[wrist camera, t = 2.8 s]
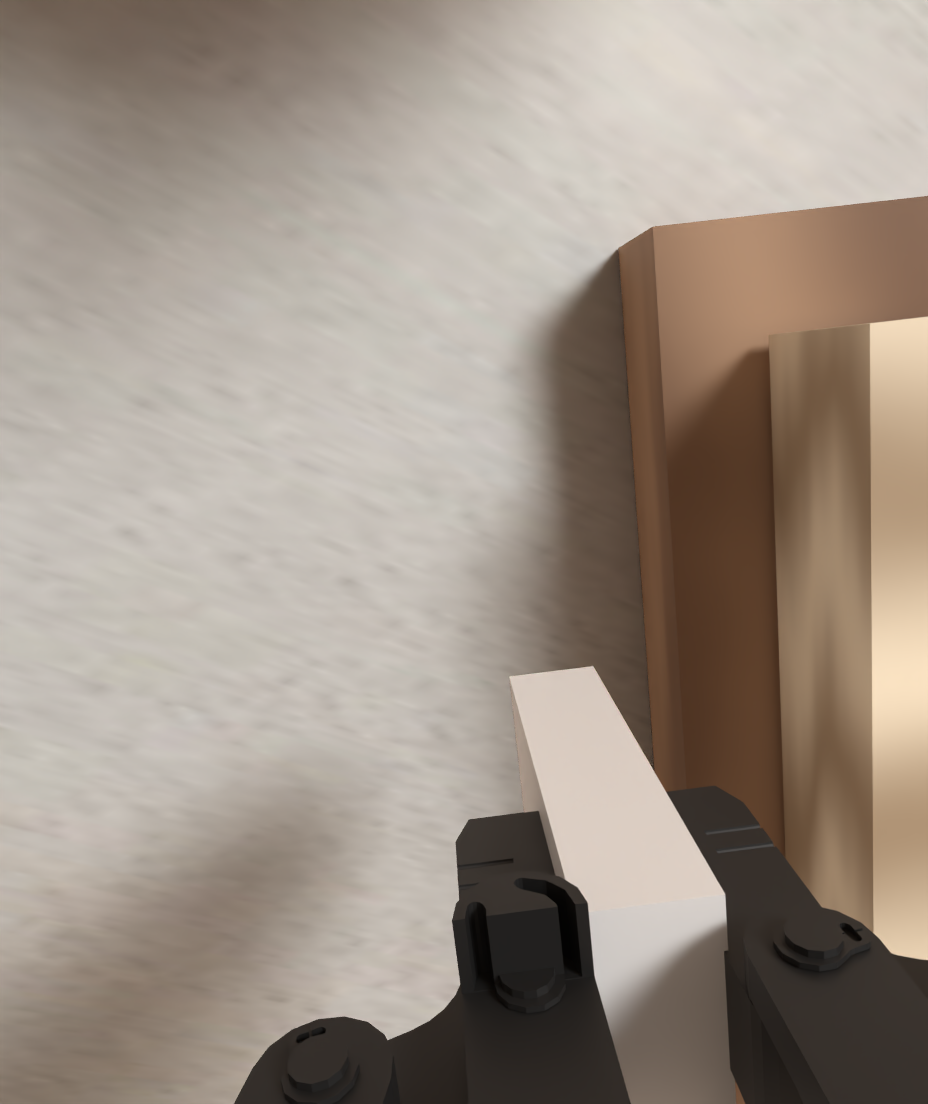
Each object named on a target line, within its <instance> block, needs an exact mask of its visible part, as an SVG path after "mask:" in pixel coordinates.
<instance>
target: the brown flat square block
mask: <svg viewBox="0 0 928 1104" xmlns="http://www.w3.org/2000/svg"><path fill="white" fill-rule="evenodd" d="M618 250H619V264H620V279H621V293H622V308H623V322H624V337H625V351H626V366H627V380H628V395H629V409H630V424H631V438H632V453H633V467H634V482H635V496H636V511H637V525H638V540H639V554H640V569H641V583H642V598H643V612H644V627H645V641H646V656H647V670H648V685H649V699H650V714H651V728H652V743H653V757H654V771H655V774H656V775H657V777H658V779H659V781H660V782H661V784H662V786H663V788H664V789H665V791H666V792H668V791H676V790H684V789H691V788H699V787H707V786H717V787H719V788H720V789H722V790H724V791H725V792H727V793H729V794H730V795H732V796H734V797H735V798H737V799H739V800H741V801H742V802H744V804H745V805H746V806H747V808H748V809H749V810H750V812H751V813H752V814H753V816H754V817H755V818H756V820H757V821H758V822H759V824H760V828H763V829H764V831H765V832H766V833H767V835H768V836H769V837H770V839H771V840H772V841H773V845H774V847H775V846H776V847H777V848H778V849H779V851H780V852H781V853H782V855H783V856H784V857H785V827H784V795H783V764H782V733H781V702H780V670H779V639H778V608H777V577H776V546H775V514H774V483H773V452H772V421H771V389H770V358H769V335H773V334H782V333H791V332H799V331H808V330H816V329H825V328H833V327H842V326H851V325H859V324H868V323H876V322H885V321H893V320H902V319H911V318H919V317H928V196H924V197H915V198H906V199H897V200H888V201H879V202H870V203H862V204H853V205H844V206H835V207H826V208H817V209H808V210H799V211H790V212H781V213H772V214H763V215H754V216H745V217H736V218H727V219H718V220H709V221H700V222H691V223H682V224H673V225H664V226H655V227H652V228H650V229H648V230H647V231H645V232H644V233H642V234H640V235H639V236H637V237H636V238H634V239H632V240H631V241H629V242H628V243H626V244H624V245H623V246H621V247H619V248H618ZM785 859H786V858H785ZM735 1090H736V1104H745V1101H744V1099H743V1097H742V1095H741V1092H740V1090H739V1088H738V1086H737V1083H736V1081H735Z"/></svg>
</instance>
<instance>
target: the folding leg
mask: <svg viewBox="0 0 928 1104" xmlns="http://www.w3.org/2000/svg"><path fill="white" fill-rule="evenodd" d="M769 358H770V389H771V421H772V452H773V483H774V514H775V546H776V577H777V608H778V639H779V670H780V702H781V733H782V764H783V795H784V827H785V858H786V860H787V861H788V863H789V864H790V865H791V867H792V868H793V869H794V871H795V872H796V873H797V875H798V876H799V877H800V879H801V880H802V881H803V883H804V884H805V885H806V887H807V888H808V889H809V891H810V892H811V893H812V895H813V896H814V897H815V899H816V900H817V901H818V903H819V904H820V906H821V907H823V908H827V909H831V910H836V911H839V912H841V913H843V914H845V915H847V916H849V917H851V918H853V919H855V920H857V921H859V922H861V923H862V924H863V925H865V926H866V927H867V928H868V929H869V930H870V931H871V932H873V933H874V934H875V935H876V936H877V937H878V938H879V939H880V940H881V941H882V942H883V944H884V945H885V946H886V947H887V949H888V950H889V951H890V952H891V953H892V954H895V955H899V956H904V957H910V958H916V959H922V960H928V317H919V318H911V319H902V320H893V321H885V322H876V323H868V324H859V325H851V326H842V327H833V328H825V329H816V330H808V331H799V332H791V333H782V334H773V335H769Z"/></svg>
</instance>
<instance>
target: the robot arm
mask: <svg viewBox="0 0 928 1104" xmlns="http://www.w3.org/2000/svg"><path fill="white" fill-rule="evenodd" d="M509 679H510V688H511V697H512V706H513V716H514V725H515V734H516V743H517V753H518V762H519V771H520V780H521V789H522V799H523V808H524V813H517V814H509V815H501V816H493V817H485V818H477V819H470V820H468V822H467V824H466V825H465V827H464V829H463V830H462V832H461V834H460V835H459V837H458V839H457V840H456V855H457V868H458V870H457V871H458V886H459V901H458V902H457V903H456V907H455V911H454V915H453V919H452V924H453V931H454V939H455V946H456V954H457V961H458V969H459V976H460V987H459V989H458V991H457V993H456V995H455V997H454V998H453V999H452V1000H451V1002H450V1003H449V1004H448V1005H447V1007H446V1008H445V1009H444V1010H443V1011H441V1012H440V1013H439V1014H438V1015H436V1016H435V1017H434V1018H433V1019H431V1020H430V1021H429V1022H427V1023H425V1024H423V1025H421V1026H419V1027H417V1028H415V1029H413V1030H411V1031H409V1032H407V1033H404V1034H402V1035H400V1036H397V1037H395V1038H392V1039H390V1040H387V1039H386V1037H385V1035H384V1034H383V1033H381V1032H380V1031H379V1030H378V1029H376V1028H375V1027H374V1026H372V1025H371V1024H370V1023H368V1022H366V1021H361V1020H357V1019H353V1018H348V1017H336V1018H326V1019H318V1020H315V1021H313V1022H310V1023H308V1024H305V1025H303V1026H300V1027H298V1028H295V1029H293V1030H291V1031H290V1032H288V1033H287V1034H286V1035H284V1036H283V1037H282V1038H280V1039H279V1040H278V1041H276V1042H275V1043H273V1044H272V1045H271V1046H269V1048H268V1049H267V1050H266V1051H265V1053H264V1054H263V1055H262V1057H261V1058H260V1059H259V1061H258V1062H257V1063H256V1065H255V1066H254V1067H253V1069H252V1071H251V1072H250V1074H249V1076H248V1078H247V1080H246V1082H245V1084H244V1086H243V1088H242V1090H241V1092H240V1093H239V1095H238V1097H237V1099H236V1101H235V1103H234V1104H736V1090H735V1081H736V1083H737V1086H738V1088H739V1090H740V1092H741V1095H742V1097H743V1099H744V1101H745V1104H928V960H922V959H916V958H910V957H904V956H899V955H895V954H892V953H891V952H890V951H889V950H888V949H887V947H886V946H885V945H884V944H883V942H882V941H881V940H880V939H879V938H878V937H877V936H876V935H875V934H874V933H873V932H871V931H870V930H869V929H868V928H867V927H866V926H865V925H863V924H862V923H861V922H859V921H857V920H855V919H853V918H851V917H849V916H847V915H845V914H843V913H841V912H839V911H836V910H831V909H827V908H823V907H821V906H820V904H819V903H818V901H817V900H816V899H815V897H814V896H813V895H812V893H811V892H810V891H809V889H808V888H807V887H806V885H805V884H804V883H803V881H802V880H801V879H800V877H799V876H798V875H797V873H796V872H795V871H794V869H793V868H792V867H791V865H790V864H789V863H788V861H787V860H786V859H785V857H784V856H783V855H782V853H781V852H780V851H779V849H778V848H777V847H776V846H775V847H774V845H773V841H772V840H771V839H770V837H769V836H768V835H767V833H766V832H765V831H764V829H763V828H760V824H759V822H758V821H757V820H756V818H755V817H754V816H753V814H752V813H751V812H750V810H749V809H748V808H747V806H746V805H745V804H744V802H742V801H741V800H739V799H737V798H735V797H734V796H732V795H730V794H729V793H727V792H725V791H724V790H722V789H720V788H719V787H717V786H707V787H699V788H691V789H684V790H676V791H668V792H666V791H665V789H664V788H663V786H662V784H661V782H660V781H659V779H658V777H657V775H656V774H655V772H654V770H653V769H652V767H651V765H650V763H649V762H648V760H647V758H646V756H645V755H644V753H643V751H642V750H641V748H640V746H639V744H638V743H637V741H636V739H635V737H634V736H633V734H632V732H631V731H630V729H629V727H628V725H627V724H626V722H625V720H624V718H623V717H622V715H621V713H620V712H619V710H618V708H617V706H616V705H615V703H614V701H613V699H612V698H611V696H610V694H609V693H608V691H607V689H606V687H605V686H604V684H603V682H602V680H601V679H600V677H599V675H598V674H597V672H596V670H595V668H594V667H593V666H590V667H582V668H574V669H566V670H557V671H549V672H541V673H533V674H525V675H517V676H509Z"/></svg>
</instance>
